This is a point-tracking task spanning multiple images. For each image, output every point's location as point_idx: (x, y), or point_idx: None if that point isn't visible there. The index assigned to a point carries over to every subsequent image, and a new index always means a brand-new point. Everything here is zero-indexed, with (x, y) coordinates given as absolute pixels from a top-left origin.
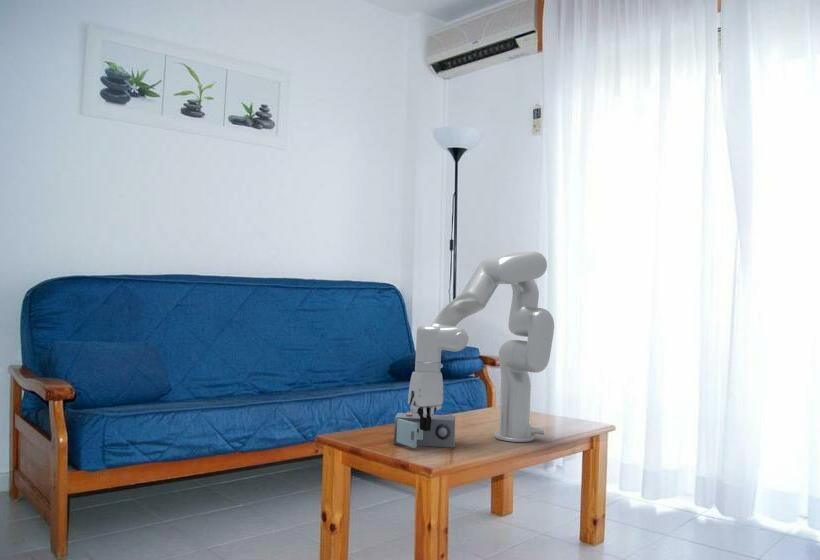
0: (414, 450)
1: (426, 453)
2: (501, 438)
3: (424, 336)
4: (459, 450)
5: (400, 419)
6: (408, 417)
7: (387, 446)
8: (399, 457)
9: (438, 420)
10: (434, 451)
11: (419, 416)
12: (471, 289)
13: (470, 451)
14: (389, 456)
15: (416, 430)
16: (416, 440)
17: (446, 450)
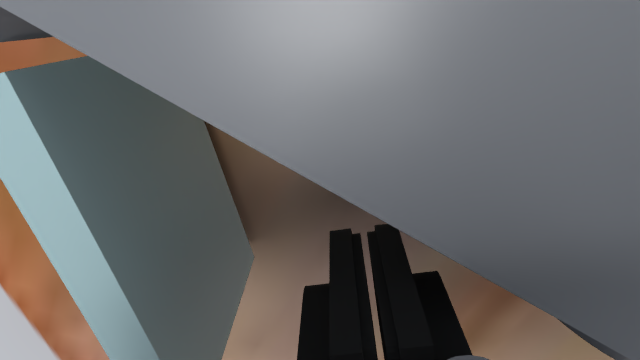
0: (249, 234)
1: (294, 319)
2: None
3: None
4: (554, 317)
5: (8, 141)
6: (202, 50)
7: (71, 53)
8: (93, 347)
9: (620, 349)
10: (373, 293)
11: (507, 2)
12: None
13: (601, 355)
14: (36, 314)
15: (215, 358)
16: (243, 288)
17: (469, 294)
